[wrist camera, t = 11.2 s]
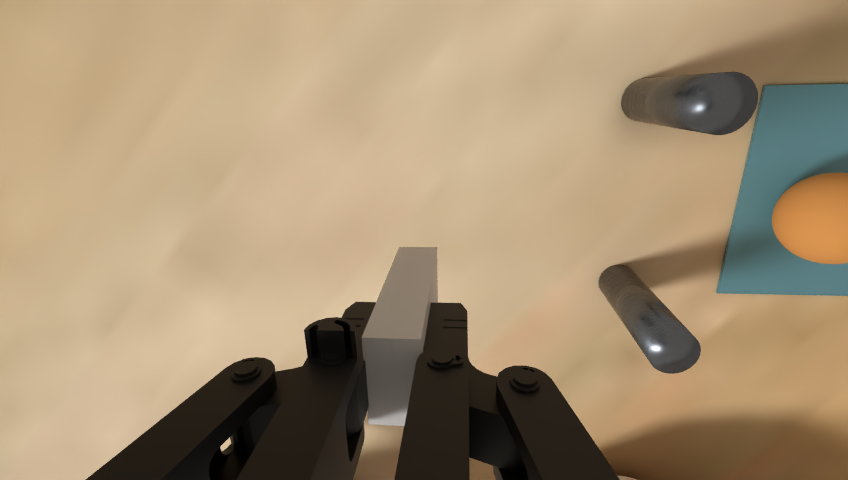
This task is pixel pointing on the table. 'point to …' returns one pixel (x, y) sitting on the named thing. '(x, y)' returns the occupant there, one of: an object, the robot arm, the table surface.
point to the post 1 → (693, 101)
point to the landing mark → (775, 173)
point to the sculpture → (625, 478)
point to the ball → (815, 218)
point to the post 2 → (649, 321)
